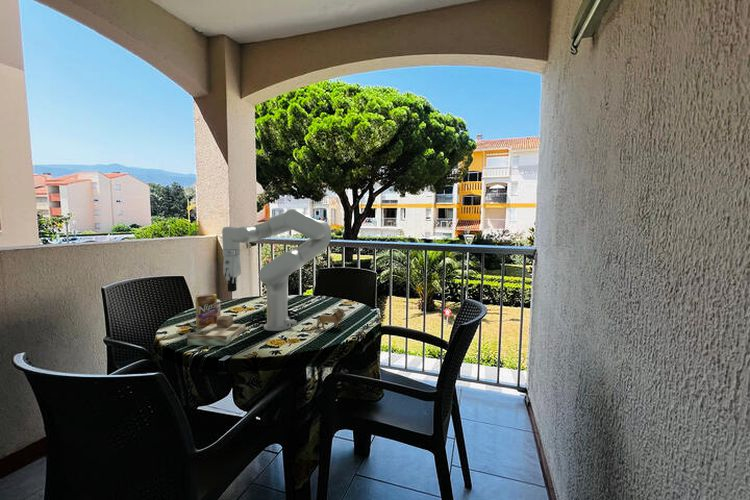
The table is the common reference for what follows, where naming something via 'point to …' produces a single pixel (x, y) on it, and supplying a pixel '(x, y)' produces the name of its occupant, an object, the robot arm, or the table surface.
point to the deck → (215, 335)
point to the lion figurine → (331, 318)
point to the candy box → (206, 310)
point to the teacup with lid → (218, 308)
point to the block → (224, 321)
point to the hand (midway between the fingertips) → (232, 290)
